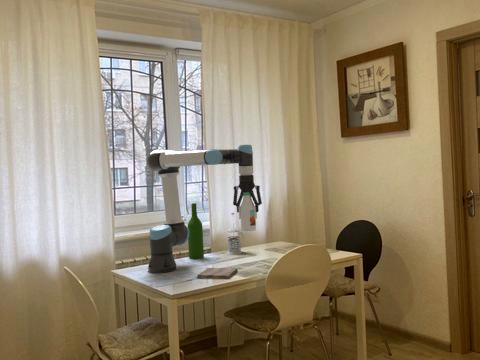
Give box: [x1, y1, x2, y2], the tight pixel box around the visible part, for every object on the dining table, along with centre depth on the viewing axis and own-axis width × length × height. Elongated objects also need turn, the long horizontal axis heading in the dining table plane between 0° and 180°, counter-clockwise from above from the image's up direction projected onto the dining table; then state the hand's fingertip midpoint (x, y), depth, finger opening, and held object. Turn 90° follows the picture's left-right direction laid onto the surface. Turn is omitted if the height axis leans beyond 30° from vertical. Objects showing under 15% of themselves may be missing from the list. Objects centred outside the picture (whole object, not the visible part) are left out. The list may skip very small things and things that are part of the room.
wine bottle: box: [186, 203, 205, 260], centre depth 292 cm, size 9×9×32 cm
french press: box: [226, 212, 245, 255], centre depth 302 cm, size 10×12×25 cm
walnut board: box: [196, 267, 238, 280], centre depth 245 cm, size 16×16×2 cm
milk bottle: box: [240, 192, 257, 232], centre depth 252 cm, size 8×8×20 cm
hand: (248, 218), depth 252 cm, fingers closed on milk bottle, 7 cm apart
